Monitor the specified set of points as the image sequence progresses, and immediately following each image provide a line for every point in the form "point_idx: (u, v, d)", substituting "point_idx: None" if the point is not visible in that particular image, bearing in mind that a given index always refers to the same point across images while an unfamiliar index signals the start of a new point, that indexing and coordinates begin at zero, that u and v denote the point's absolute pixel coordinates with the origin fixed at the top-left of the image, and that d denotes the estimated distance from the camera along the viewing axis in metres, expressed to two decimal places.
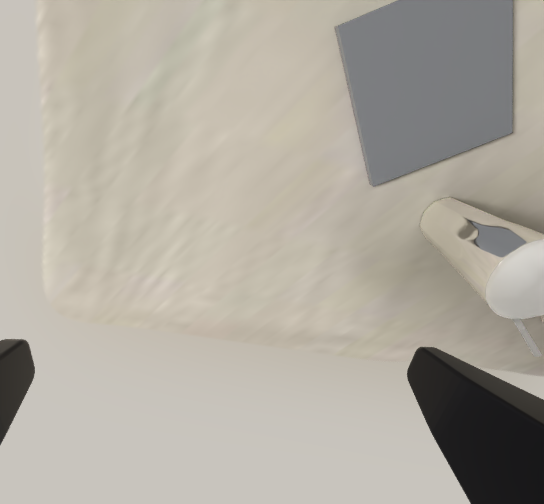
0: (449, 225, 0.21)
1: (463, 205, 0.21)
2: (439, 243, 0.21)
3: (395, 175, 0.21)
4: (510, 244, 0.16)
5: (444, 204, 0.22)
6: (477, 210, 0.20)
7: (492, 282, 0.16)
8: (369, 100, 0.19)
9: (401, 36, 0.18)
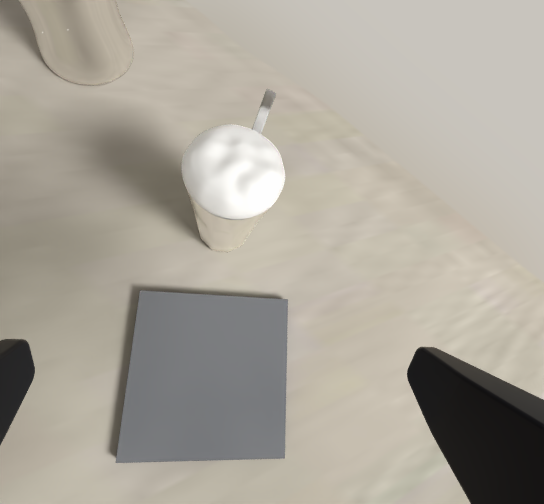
0: (244, 236, 0.20)
1: (215, 244, 0.20)
2: None
3: (264, 300, 0.21)
4: (243, 221, 0.15)
5: (225, 249, 0.21)
6: (213, 239, 0.19)
7: (279, 193, 0.15)
8: (272, 383, 0.20)
9: (232, 428, 0.19)
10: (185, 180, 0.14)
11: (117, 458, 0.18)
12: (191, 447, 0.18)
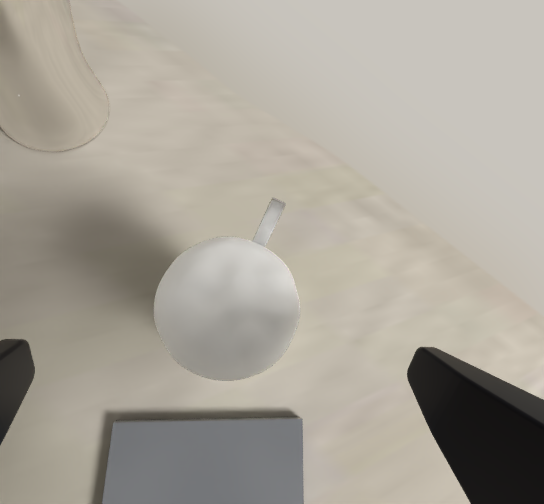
0: None
1: None
2: None
3: (273, 423, 0.17)
4: None
5: None
6: None
7: (293, 335, 0.11)
8: None
9: None
10: (159, 330, 0.10)
11: None
12: None
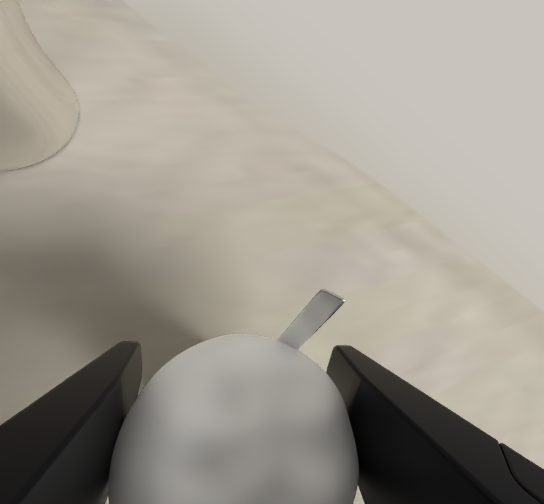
0: None
1: None
2: None
3: None
4: None
5: None
6: None
7: None
8: None
9: None
10: None
11: None
12: None
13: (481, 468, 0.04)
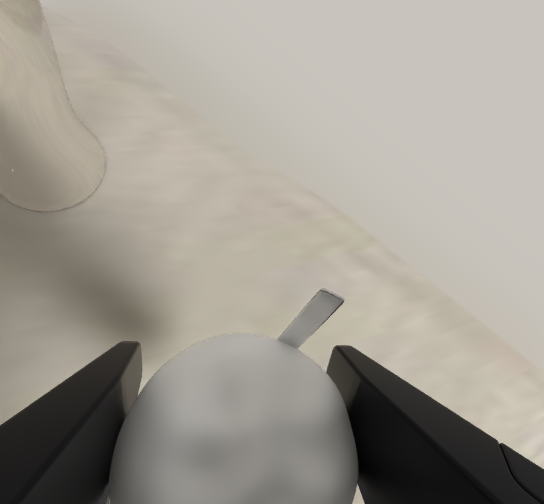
0: None
1: None
2: None
3: None
4: None
5: None
6: None
7: None
8: None
9: None
10: None
11: None
12: None
13: (481, 468, 0.04)
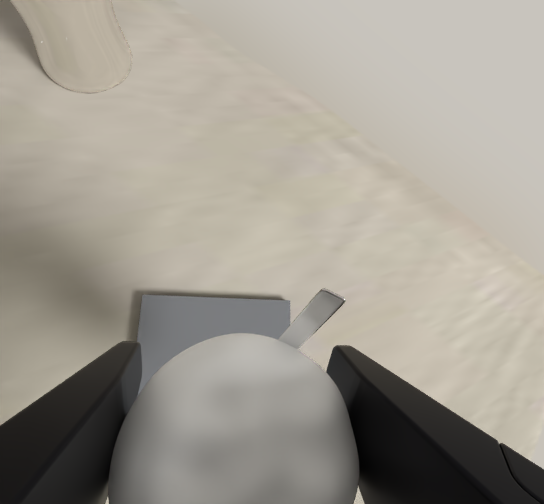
0: None
1: None
2: None
3: (266, 302, 0.21)
4: None
5: None
6: None
7: None
8: None
9: None
10: None
11: None
12: None
13: (481, 468, 0.04)
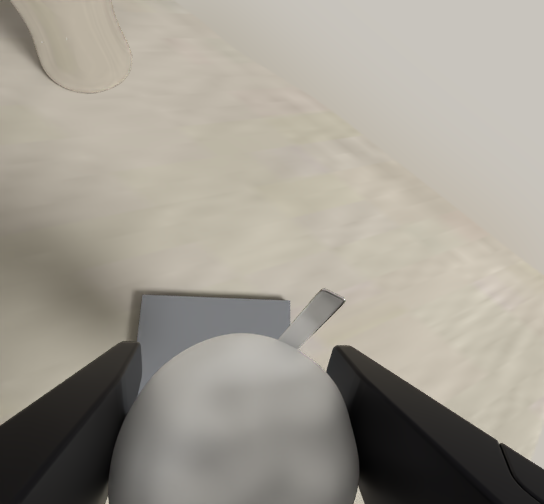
0: None
1: None
2: None
3: (266, 302, 0.21)
4: None
5: None
6: None
7: None
8: None
9: None
10: None
11: None
12: None
13: (481, 468, 0.04)
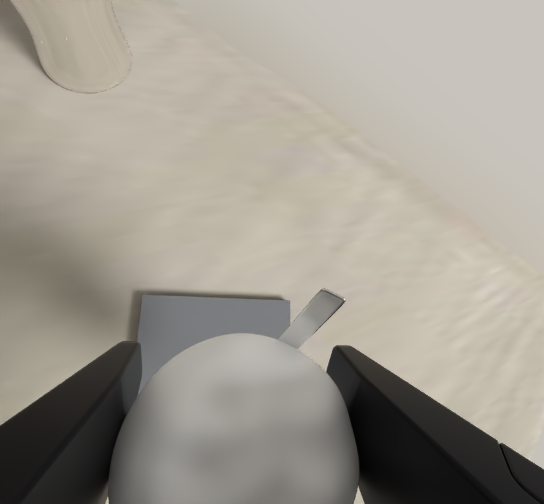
0: None
1: None
2: None
3: (266, 302, 0.21)
4: None
5: None
6: None
7: None
8: None
9: None
10: None
11: None
12: None
13: (481, 468, 0.04)
